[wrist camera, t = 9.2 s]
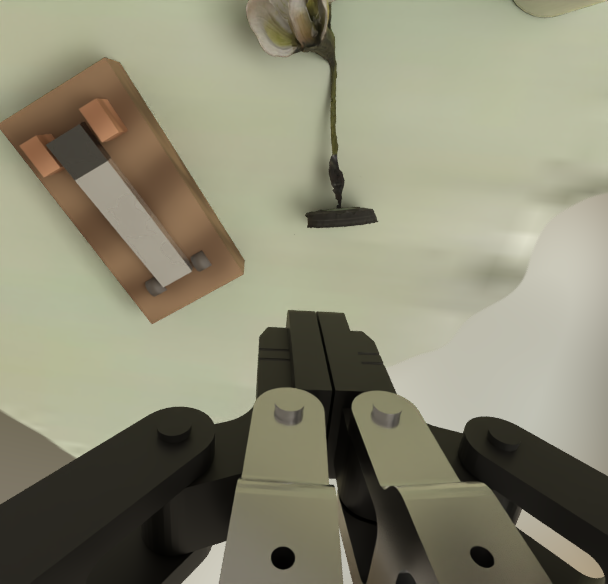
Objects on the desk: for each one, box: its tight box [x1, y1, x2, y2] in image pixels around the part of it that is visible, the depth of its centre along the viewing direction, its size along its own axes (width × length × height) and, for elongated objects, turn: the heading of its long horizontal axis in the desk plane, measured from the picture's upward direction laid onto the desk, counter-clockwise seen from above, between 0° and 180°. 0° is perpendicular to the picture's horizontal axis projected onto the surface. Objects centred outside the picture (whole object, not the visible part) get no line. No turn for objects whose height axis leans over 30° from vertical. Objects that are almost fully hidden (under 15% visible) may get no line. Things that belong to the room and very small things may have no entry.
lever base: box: [0, 58, 245, 324], centre depth 38 cm, size 20×10×7 cm, turn 28°
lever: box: [46, 122, 193, 287], centre depth 36 cm, size 14×3×1 cm, turn 28°
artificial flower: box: [246, 0, 378, 235], centre depth 36 cm, size 9×22×10 cm, turn 6°
